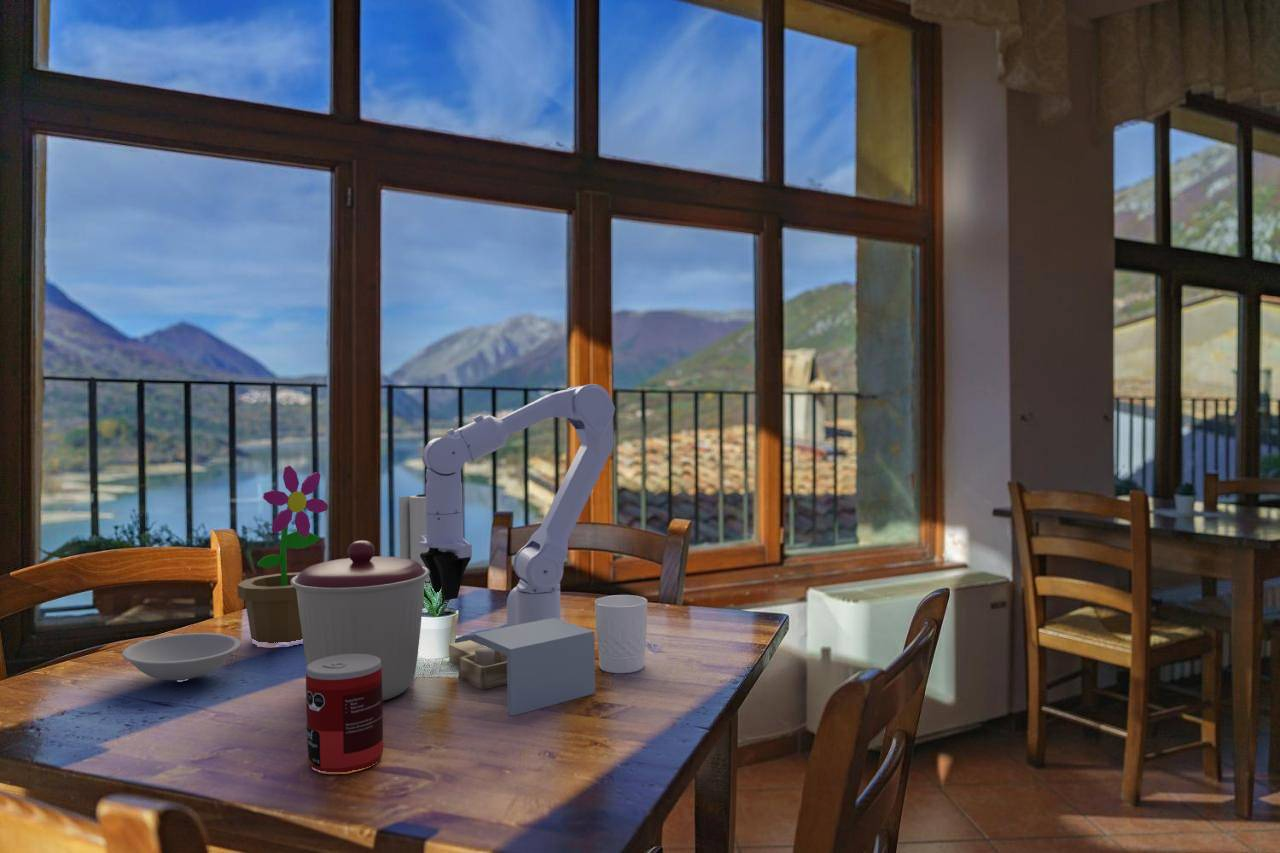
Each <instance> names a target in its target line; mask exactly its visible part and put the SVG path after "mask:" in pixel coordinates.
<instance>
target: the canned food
mask: <svg viewBox="0 0 1280 853" xmlns="http://www.w3.org/2000/svg"><path fill="white" fill-rule="evenodd" d="M305 699H306V702H305V704H306V705H305V706H306V736H307V744H306V745H307V760H308V763H309V767H310V766H311V767H313V768H315V769H317V770H320V771H326V772H348V771H352V770H358V769H362V768H366V767H369V766H372V765H373V764H375V763H376V762H378V761H379V760H380V761H381V759H382V756H383V752H384V732H383V731H384V729H383V728H384V724H383V723H384V721H383V720H384V719H383V718H384V717H383V715H384V714H383V712H384V711H383V701H382V665H381V659H380V658H378V657H376V656H373V655H368V654H342V655H334V656H329V657H325V658H321V659H318V660H316V661H314V662H312V663H310V664H308V666H307V665H306V671H305ZM380 758H381V759H380ZM380 761H379V762H380ZM379 762H378V763H379ZM375 765H376V764H375ZM311 767H310V768H311Z"/></svg>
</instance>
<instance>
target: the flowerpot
mask: <svg viewBox="0 0 1280 853" xmlns="http://www.w3.org/2000/svg"><path fill="white" fill-rule="evenodd" d="M282 479H283V484H284V486H285V489H287V490H288V492H290V494H289V495H287V493H286V492H284V491H280V490H274V489H272V490H269V491H266V492H264V493H263V497H262V499H263V500H265V501H266V503H268V504H269V505H275V506H279V507H281V506H284V505H287V506H286V509H282V510H280V512H278V513H277V515H276V517H275V518H274V519H273V522H272V525H271V526H272V527H271V531H272V532H273V533H274V534H277V533H280V532H281V534H280V536H281V537H280V538H281V539H280V543H279V544H280V545H279V548H280V549H279V550H280V553H279V554H269V555H267V556H263V557H262V558H261V559H260V560H259V561H257V567H260V568H264V569H271V568H272V569H273V568H275V567H278V566H280V573H274V574H273V573H272V574H266V575H260V576H255V577H251V578H248V579H244V580H242V581H240V583H237V598H239V599H241V600H243V601H245V608H246V614H247V615H246V616H247V619H248V620H247V621H248V625H249V631H250V632H249V633H250V637H251V638H252V639H254V640H256V641H258V642H268V643H274V642H275V643H276V642H277V643H278V642H291V641H296V640H301V639H303V637H302V630H301V622H300V615H299V608H298V600H297V592H296V588H294V587H293V586H292V585H291V583H290V581H291V579H292V578H293V577H294V576H296V575H299V574H300V573H301V572H302V571H299V572H287V569H288V566H287V548H291V549H296V550H299V549H304V548H307V547H310V546H312V545H314V544H315V543H317V542H319V541H321V536H318V535H316V534H314V533H313V532H310V530H311V523H310V519H309V516H308V514H306V513H305V512H304V511H303V510H304V509H305V508H306V509H307V511H309V512H312V513H317V514H321V513H323V512H325V511H328V510H329V509H328V508H329V505H328V503H327V502H326V501H325V500H323V499H321V498H315V497H310V498H309V499H307V497H306V496H307V495H310V494H313V493H314V491H315V490H316V489H317V487H318V486H319V485H320V480H321V474H320V473H319V472H318V471H315V472H314V473H311V474H309V475H308V476H307V477H306V478H305V479H304V481H303V482H302V483H301V488H300V491H298V490H299V486H300V480H299V476H298V473H297V472H296V471H295V469H294V468H293V467H292V466H291V465H287V466H284V469H283V475H282ZM293 513H295V517H294V524H295V528H296V530H294V531H292V532H290V533H288V531H289V524H290V523H291V521H292V520H293ZM252 639H251V640H252Z"/></svg>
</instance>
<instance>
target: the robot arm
mask: <svg viewBox="0 0 1280 853" xmlns="http://www.w3.org/2000/svg"><path fill="white" fill-rule="evenodd" d="M615 411H616V407H615V405H614V403H613V400H612V398H611V396H610V393H609V392H608V391H607V389H606V388H604V387H603V386H601V385H600V384H595V383H590V384H586V385H573V386H570V387H568V388H567V389H561V390H558V391H555V392H551V393H549V394H546V395H543V396H542V397H540V398H538V399H536V400H534V401H533V402H530V403H528V404H526V405H524V406H522V407H520V408H518V409H516V410H515V411H512V412H510V413H508V414H507V415H503V416H502V417H500V418H498V417H495V416H493V415H488V414H487V415H486V416H484V417H483V415H481V414H479V415H476V416H474V417H473V422H470V423H468V424H466V425H463V426H462V427H459V428H457V429H455V430H454V429H453V428H450V429H449V430H446V434H447V436H442V437H435V438H433V439H431V440H430V441H429V442H428V443H427V444H426V445H425V446H424V448H423V452H422V455H421V460H422V463H423V464H424V467H426V473H425V479H426V483H425V494H426V535H422V536H420V547H422V548H426V547H427V548H429V551H428V552H425V553H421V554H420V557H421V559H422V561H423V562H424V564H425V566H426V568H428V569H429V571H430V574H429V577H430V581H431V585H432V588H433V589H434V591H435V592H436V593H437V592H439V591H440V589H441V587H442V594H443V596H442V597H443V600H445V601H449V600H450V601H451V600H455V599H458V598H459V594H460V590H461V585H462V582H463V581H462V580H463V577H464V575H465V571H466V569H467V566H468V565H469V563H470V561H471V559H472V557H473V545H472V543H469V542H468V541H467V540H466V539H465V538H464V511H463V510H464V509H463V506H464V504H463V483H462V468H463V467H464V466H465V463H468V464H470V463H472V462H474V461H476V460H478V459H481V458H484V457H485V456H487V455H489V454H491V453H494V452H496V451H498V450H501V449H502V448H504V447H505V445H506V442H507V440H508V438H509V436H511V435H513V434H515V433H519V432H520V431H523V430H525V429H528V428H530V427H532V426H533V425H537V424H539V423H542V422H543V421H545V420H548V419H551V418H565V419H566V420H567V421H568V423H570V424H571V425H572V427H573V428H574V430H575V433H576V435H577V438H578V440H579V442H580V446H579V448H578V450H577V452H576V453H575V456H574V458H573V460H572V462H571V464H570V466H569V468H568V470H567V472H566V474H565V475H564V476H565V477H564V478H563V480H562V482H561V484H560V486H559V488H558V490H557V492H556V494H555V497H554V498H553V500H552V503H551V505H550V506H549V509H547V513H546V515H545V517H544V519H543V520H542V523H541V525H540V526H539V527H538V529H537V530H535V531H534V533H532V534H531V536H530V538H529V540H528V541H527V543H526V544H524V546H522V547H521V548H520V549H519V550H518V551H517V552H516V554H515V555H514V558H513V569H514V571H515V574H516V575H517V576H518V577H519V581H518V584H517V585H516V586H515V587H514V588H513V589H511V591H510V592H509V594H508V596H507V600H506V623H507V624H506V627H509V626H514V625H519V624H524V623H529V622H535V621H540V620H545V619H550V618H556V619H559V620H562V619H561V581H562V579H563V576H564V565H565V560H566V558H567V556H568V552H569V550H568V549H569V548H568V547H569V546H568V545H569V544H568V543H569V542H568V541H569V539H570V537H571V535H572V532H573V531H574V529H575V526H576V525H577V523H578V520H579V518H580V516H581V514H582V512H583V510H584V508H585V506H586V504H587V502H588V500H589V497H590V496H591V493H592V492H593V491H594V490H593V489H594V487H595V485H596V483H597V481H598V479H599V478H600V475H601V474H602V471H603V469H604V467H605V465H606V463H607V461H608V458H609V457H610V455H611V452H612V450H613V449H614V445H615V444H614V443H615V441H614V439H615V438H614V437H615V436H614V415H615Z"/></svg>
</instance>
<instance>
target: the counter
mask: <svg viewBox="0 0 1280 853" xmlns="http://www.w3.org/2000/svg"><path fill="white" fill-rule="evenodd" d="M472 641H473V642H476V643H478V644H480V645H483V646H485V647H487V648H491V649H493V650H495V651H498V652H500V653H502V654H505V655H507V684H506V686H507V687H506V688H507V715H508V716H510V717H514V716H518V715H520V714H525V713H527V712H528V713H529V712H532V711H537V710H540V709H543V708H547V707H550V706H554V705H557V704H562V703H566V702H569V701H572V700H575V699H580V698H584V697H587V696H591V695H594V694H596V659H595V658H596V655H595V653H596V652H595V651H596V650H595V648H596V645H595V644H596V642H595V630H592V629H589V628H586V627H583V626H580V625H576V624H574V623H572V622H568V621H565V620H563V619H561V620H559V619H556V618H550V619H545V620H540V621H535V622H529V623H524V624H519V625H514V626H509V627H507V626H504V627H499V628H494V629H489V630H485V631H479V632H474V633H472Z"/></svg>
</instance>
